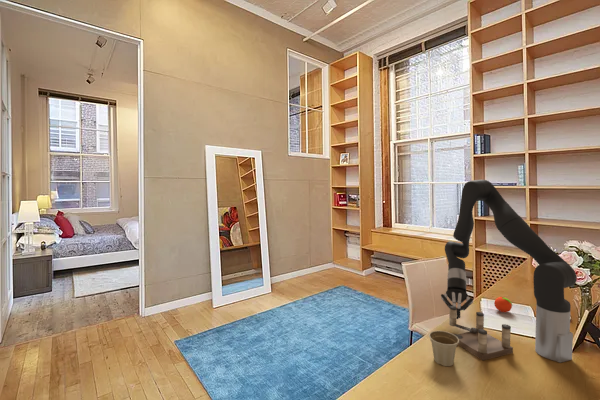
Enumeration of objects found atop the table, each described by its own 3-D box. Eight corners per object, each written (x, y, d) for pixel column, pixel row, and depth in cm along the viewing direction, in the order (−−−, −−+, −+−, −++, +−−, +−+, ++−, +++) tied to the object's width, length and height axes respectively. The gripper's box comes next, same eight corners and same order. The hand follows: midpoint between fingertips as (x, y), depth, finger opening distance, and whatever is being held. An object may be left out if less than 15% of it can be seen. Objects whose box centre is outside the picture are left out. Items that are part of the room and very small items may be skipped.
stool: (512, 352, 108) (513, 327, 108) (482, 360, 104) (482, 333, 104) (478, 334, 122) (479, 311, 121) (450, 340, 118) (450, 316, 117)
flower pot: (446, 373, 98) (447, 347, 97) (423, 358, 106) (423, 334, 106) (464, 364, 102) (465, 339, 102) (440, 350, 111) (440, 328, 110)
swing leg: (477, 331, 119) (478, 313, 118) (475, 334, 117) (475, 315, 117) (450, 322, 127) (451, 305, 126) (448, 324, 125) (448, 307, 124)
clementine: (517, 314, 139) (518, 299, 138) (507, 316, 136) (507, 301, 136) (500, 307, 146) (501, 293, 146) (490, 310, 144) (490, 295, 143)
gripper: (440, 275, 136) (438, 312, 126) (473, 278, 130) (475, 317, 120) (440, 282, 141) (439, 318, 131) (473, 286, 135) (474, 324, 125)
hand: (456, 318), depth 125 cm, fingers closed
